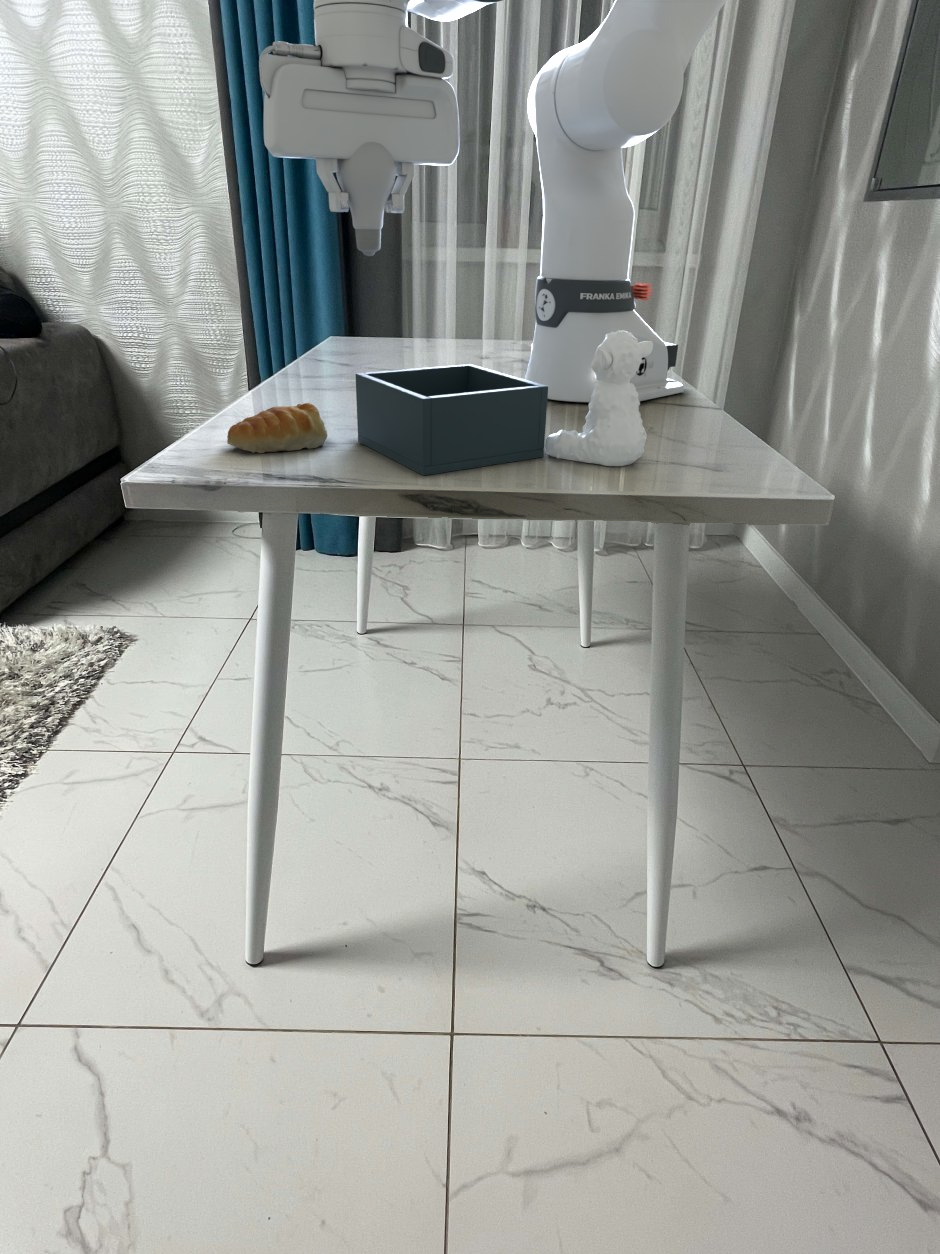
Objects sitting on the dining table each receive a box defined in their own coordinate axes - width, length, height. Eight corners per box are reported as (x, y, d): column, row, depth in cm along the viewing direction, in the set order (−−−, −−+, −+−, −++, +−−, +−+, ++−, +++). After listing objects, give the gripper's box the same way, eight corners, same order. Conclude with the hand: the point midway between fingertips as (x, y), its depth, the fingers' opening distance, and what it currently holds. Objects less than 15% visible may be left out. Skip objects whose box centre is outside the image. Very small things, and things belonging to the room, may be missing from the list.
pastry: (246, 460, 76) (241, 419, 74) (216, 445, 81) (211, 406, 79) (333, 445, 81) (331, 407, 79) (301, 432, 86) (298, 396, 84)
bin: (469, 427, 90) (471, 363, 86) (543, 457, 79) (548, 386, 76) (357, 441, 83) (355, 373, 80) (423, 475, 73) (423, 399, 70)
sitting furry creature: (611, 442, 85) (624, 321, 80) (672, 462, 79) (690, 332, 73) (540, 454, 80) (549, 326, 75) (599, 476, 74) (612, 338, 69)
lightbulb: (409, 256, 87) (407, 137, 82) (372, 258, 82) (368, 132, 77) (365, 254, 90) (361, 138, 85) (328, 255, 85) (320, 134, 80)
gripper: (268, 33, 71) (282, 210, 77) (468, 58, 80) (466, 214, 87) (245, 43, 75) (260, 210, 82) (437, 65, 85) (437, 213, 91)
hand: (367, 212), depth 84 cm, fingers closed on lightbulb, 5 cm apart
